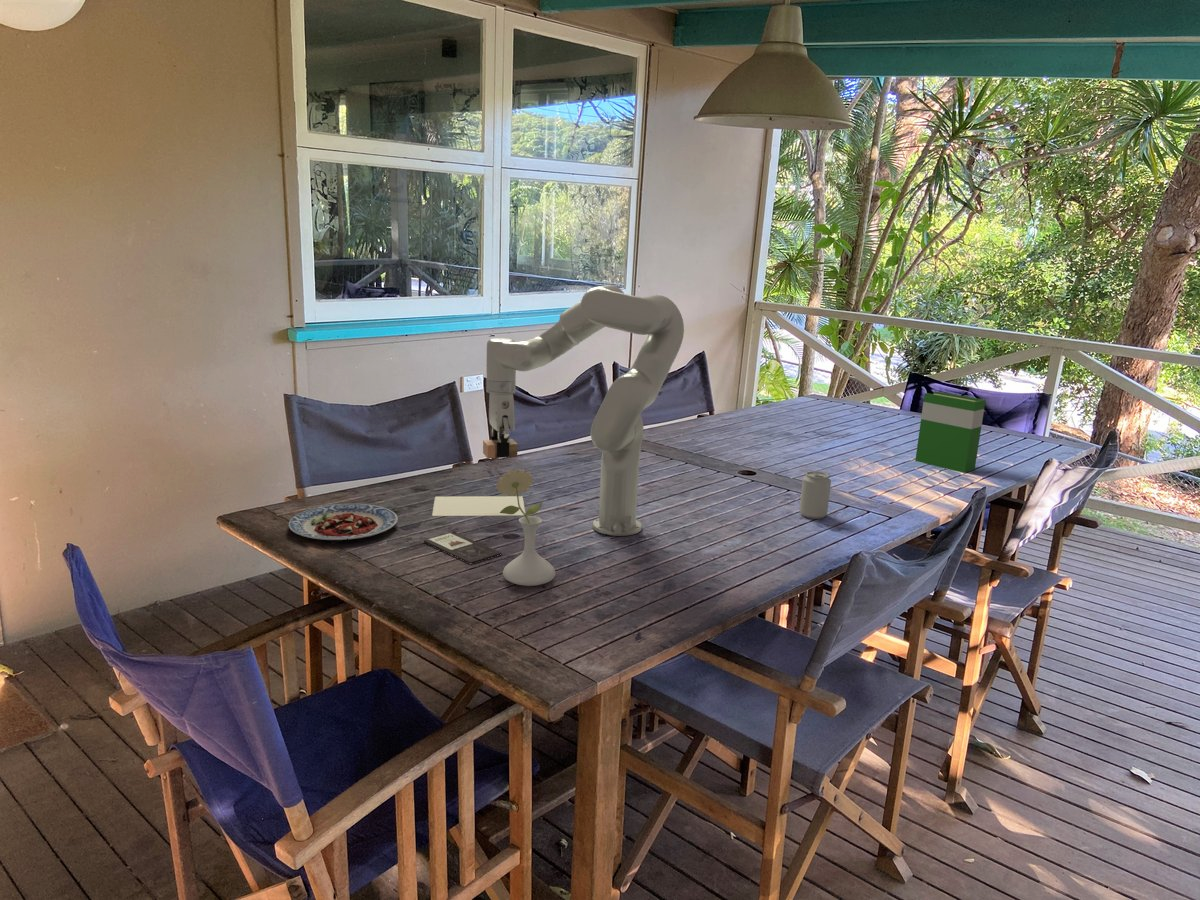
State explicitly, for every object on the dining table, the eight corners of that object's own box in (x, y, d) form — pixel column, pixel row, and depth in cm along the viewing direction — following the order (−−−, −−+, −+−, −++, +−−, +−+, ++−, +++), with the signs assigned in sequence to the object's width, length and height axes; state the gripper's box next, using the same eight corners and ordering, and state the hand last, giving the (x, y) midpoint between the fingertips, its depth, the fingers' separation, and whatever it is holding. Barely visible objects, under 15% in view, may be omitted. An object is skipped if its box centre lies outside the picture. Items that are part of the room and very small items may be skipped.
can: (807, 520, 232) (811, 478, 229) (794, 511, 239) (798, 470, 235) (832, 519, 234) (836, 477, 231) (818, 510, 241) (822, 469, 237)
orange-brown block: (517, 456, 226) (517, 444, 225) (487, 458, 223) (487, 445, 222) (512, 451, 231) (512, 438, 230) (483, 453, 228) (483, 440, 227)
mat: (525, 518, 224) (525, 515, 224) (432, 518, 221) (432, 515, 221) (522, 499, 239) (522, 496, 239) (435, 499, 236) (435, 496, 236)
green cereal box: (915, 461, 298) (924, 393, 292) (925, 457, 303) (935, 391, 297) (964, 473, 285) (975, 402, 279) (974, 469, 290) (985, 400, 284)
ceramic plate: (419, 526, 216) (419, 515, 215) (336, 556, 195) (336, 543, 194) (351, 505, 230) (350, 494, 229) (266, 530, 209) (266, 518, 208)
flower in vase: (555, 570, 191) (559, 462, 185) (554, 591, 180) (558, 477, 174) (497, 569, 191) (498, 460, 184) (492, 590, 180) (493, 476, 173)
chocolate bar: (470, 562, 192) (423, 540, 204) (470, 566, 193) (423, 544, 205) (501, 552, 199) (454, 531, 211) (501, 556, 199) (454, 535, 211)
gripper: (523, 392, 216) (522, 461, 221) (507, 380, 231) (506, 445, 236) (494, 393, 213) (493, 463, 218) (479, 380, 229) (479, 446, 234)
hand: (500, 453), depth 227 cm, fingers closed on orange-brown block, 5 cm apart
